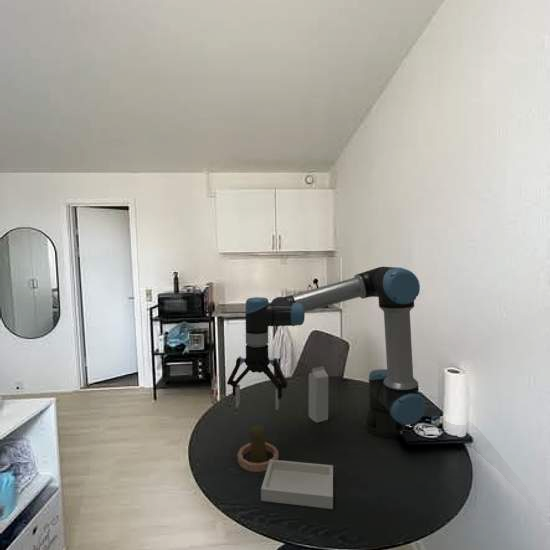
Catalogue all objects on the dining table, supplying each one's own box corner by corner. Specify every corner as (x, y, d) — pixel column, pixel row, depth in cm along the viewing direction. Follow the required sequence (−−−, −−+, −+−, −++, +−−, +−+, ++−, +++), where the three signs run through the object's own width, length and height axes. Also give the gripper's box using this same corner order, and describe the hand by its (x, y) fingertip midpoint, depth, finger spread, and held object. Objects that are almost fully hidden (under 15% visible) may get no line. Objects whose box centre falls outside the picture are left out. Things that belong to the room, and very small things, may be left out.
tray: (332, 476, 108) (332, 465, 107) (332, 509, 94) (332, 496, 94) (270, 469, 111) (270, 459, 111) (261, 500, 97) (261, 488, 97)
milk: (308, 417, 146) (308, 366, 145) (320, 413, 149) (320, 364, 148) (316, 423, 141) (316, 370, 139) (328, 419, 144) (328, 368, 142)
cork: (253, 466, 113) (253, 434, 112) (246, 457, 118) (246, 426, 117) (270, 461, 115) (269, 429, 115) (262, 452, 121) (262, 421, 120)
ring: (280, 449, 122) (280, 443, 122) (274, 473, 109) (274, 467, 109) (244, 446, 124) (244, 440, 124) (233, 469, 111) (233, 463, 111)
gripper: (295, 342, 116) (295, 404, 117) (224, 339, 120) (225, 398, 121) (293, 349, 108) (292, 414, 110) (217, 345, 112) (218, 408, 114)
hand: (257, 406), depth 115 cm, fingers open, 13 cm apart
